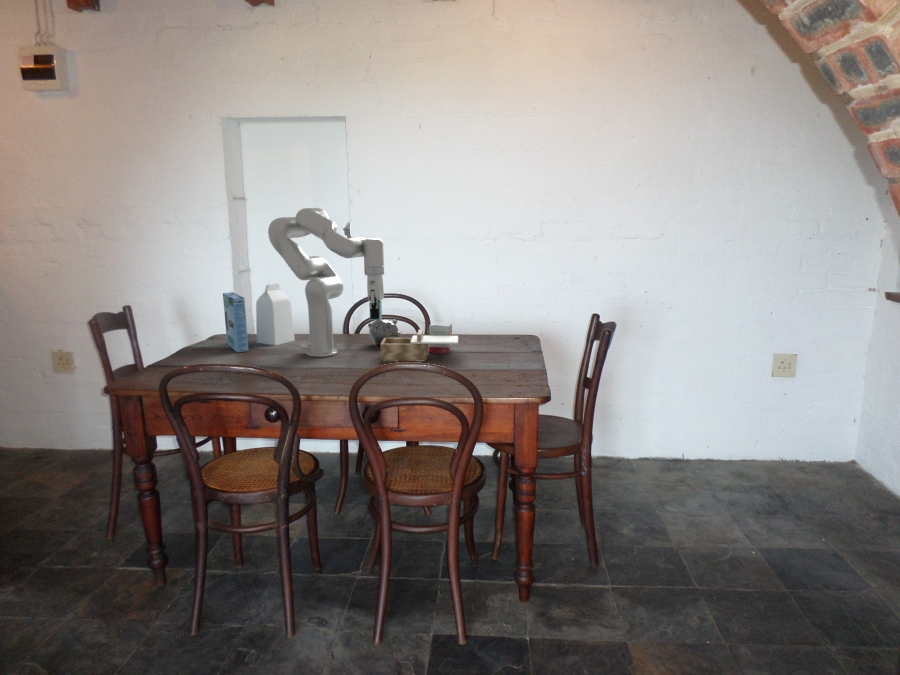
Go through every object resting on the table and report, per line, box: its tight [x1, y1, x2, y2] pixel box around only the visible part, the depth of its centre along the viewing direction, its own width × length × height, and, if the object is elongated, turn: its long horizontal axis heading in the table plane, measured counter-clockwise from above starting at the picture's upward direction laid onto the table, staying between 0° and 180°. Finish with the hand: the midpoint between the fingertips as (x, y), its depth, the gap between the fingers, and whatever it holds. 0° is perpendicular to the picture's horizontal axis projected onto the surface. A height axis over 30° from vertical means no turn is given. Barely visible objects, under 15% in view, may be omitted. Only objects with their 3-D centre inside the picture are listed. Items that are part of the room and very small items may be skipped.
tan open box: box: [379, 337, 429, 363], centre depth 254 cm, size 18×12×7 cm, turn 89°
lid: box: [411, 329, 459, 345], centre depth 253 cm, size 19×13×4 cm
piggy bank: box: [367, 318, 402, 347], centre depth 276 cm, size 11×15×12 cm
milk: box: [255, 283, 296, 346], centre depth 282 cm, size 12×12×26 cm
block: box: [369, 300, 383, 321], centre depth 246 cm, size 4×4×7 cm
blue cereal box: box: [222, 291, 249, 353], centre depth 269 cm, size 20×5×23 cm, turn 31°
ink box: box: [428, 321, 453, 354], centre depth 266 cm, size 9×9×12 cm
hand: (375, 317), depth 246 cm, fingers closed on block, 4 cm apart
